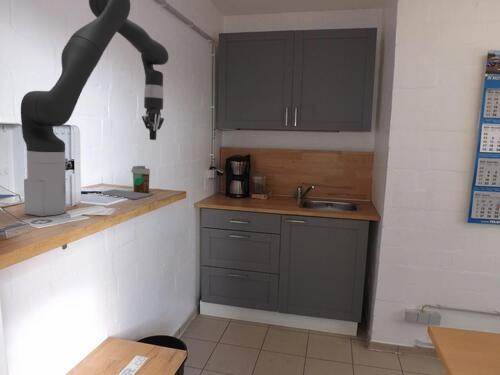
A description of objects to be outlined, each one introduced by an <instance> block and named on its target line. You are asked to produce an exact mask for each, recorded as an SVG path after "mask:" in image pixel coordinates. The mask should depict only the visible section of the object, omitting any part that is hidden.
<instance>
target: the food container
mask: <svg viewBox="0 0 500 375" xmlns="http://www.w3.org/2000/svg"><path fill="white" fill-rule="evenodd" d="M131 173H132V181H133V192H140V193H148V194H150V174H151V170H150V168H146V166H145V165H134V166H132V168H131Z"/></svg>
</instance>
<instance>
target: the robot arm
mask: <svg viewBox="0 0 500 375" xmlns="http://www.w3.org/2000/svg"><path fill="white" fill-rule="evenodd" d="M88 5H89V8H90V11H91V13H92V14H93V15H94V16H95V17H96V18H95V19H93V20H92V21H91V22H88V23H87V24H85V25H83V26H82V27H80V28H79V29H78V30H76V31H75V32H73V34H72V35H71V36H70V38H69V40H67V42H66V44H65V45H64V47H63V49H62V51H61V55H60V56H61V57H60V58H61V62H60V63H61V74H60V77H59V78H58V79H57V81H56V82H55V84H54V86H52V87H51V89H50V90H32V91H29V92H27V93H26V94H24V96H23V97H22V99H21V102H20V120H21V122H20V123H21V133H22V134H21V135H22V139H23V141H24V143H25V146H26V172H27V174H26V177H27V178H25V179H24V180H23V189H24V190H23V192H24V193H23V195H24V214H25V215H31V216H38V217H44V216H55V215H61V214H65V213H66V211H67V207H66V205H67V198H66V196H67V195H66V192H67V191H66V189H67V188H66V185H67V184H66V143H65V141H63V140H62V139H60V138H59V137H58V136H57V135H56V134H55V132H54V127H61V126H63V125H65V124H67V122H68V121H69V120H70V118H72V115H73V113H74V111H75V108H76V105H77V103H78V101H79V98H80V96H81V94H82V93H83V92H82V91H83V89H84V88H85V86H86V85H87V83H88V80H89V79H90V77H91V75H92V73H93V71H94V70H95V68H96V67H97V65H98V63H99V62H100V60H101V58H102V56H103V55H104V52H105V51H106V49H107V48H108V45H109V44H110V42H111V41H112V39H113V37H114V36H115V35H116V33H118V34H119V35H120V36H122V37H123V38H124V39H126V41H128V42H129V43H130V45H132V47H133V48H135V49H136V51H138V53H139V54H140V55H141V62H142V66H143V70H144V75H145V79H144V80H145V81H144V82H145V83H144V84H145V86H144V96H143V97H144V99H143V100H144V101H143V108H144V109H146V110H145V115H141V119H142V121H143V124H144V126H145V128H146V129H147V130H148V131H149V140H150V141H156V140H157V132H158V130H160V129H161V127H162V125H163V123H164V121H165V118H164V117H162V113H161V111H162V110H163V109H164V73H163V72H162V71H160V70H156V69H154V66H163V65H165V64H167V63H168V61H169V53H168V50H167V49H166V47H165V46H164V45H162V43H160V42H158V41H157V40H155V39H153V38H152V37H151V36H150V35H149V34H148V32H147V31H146V30H145V29H144V28H143V27H141V26H140V25H138V24H136V23H135V22H133V21H132V20H130V19H128V17H129V14H130V12H131V0H88Z"/></svg>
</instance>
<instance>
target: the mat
mask: <svg viewBox="0 0 500 375" xmlns="http://www.w3.org/2000/svg"><path fill="white" fill-rule="evenodd" d="M100 192H101V193H96V192H95V193H96V194H103V195H109V196H108V197H110V196H117V197H124V198H123V199H125V198H127V199H126V200H134V201H135V200H139V199H144V198H149V197H153V196H154V193H149V194H148V193H140V192H134V191H132V190H131V191H129V190H123V189H116V188H115V189H109V190H101V191H100ZM117 197H116V198H117Z"/></svg>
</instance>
